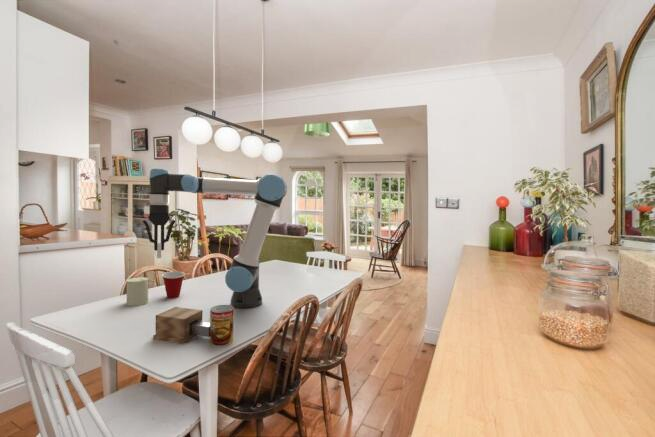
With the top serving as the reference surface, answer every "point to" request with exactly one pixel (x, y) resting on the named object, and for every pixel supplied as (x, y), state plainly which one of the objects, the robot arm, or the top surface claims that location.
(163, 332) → the bearing block
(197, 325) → the shaft
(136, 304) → the can
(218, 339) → the canned food
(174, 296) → the plastic cup
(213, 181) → the robot arm
